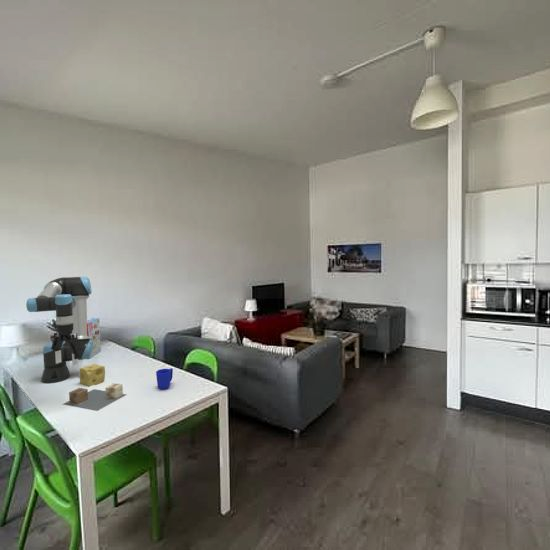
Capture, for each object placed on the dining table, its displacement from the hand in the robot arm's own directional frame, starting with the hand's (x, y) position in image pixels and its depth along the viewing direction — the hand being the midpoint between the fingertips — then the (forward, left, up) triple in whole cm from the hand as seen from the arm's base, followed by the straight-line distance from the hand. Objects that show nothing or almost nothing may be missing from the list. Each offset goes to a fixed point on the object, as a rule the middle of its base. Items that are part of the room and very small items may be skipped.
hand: (67, 363), depth 175 cm
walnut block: (+7, 0, -20) cm, 21 cm away
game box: (-57, +66, -20) cm, 89 cm away
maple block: (+20, +11, -20) cm, 30 cm away
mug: (+38, +32, -20) cm, 54 cm away
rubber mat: (+13, +5, -20) cm, 25 cm away
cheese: (-9, +23, -20) cm, 32 cm away
